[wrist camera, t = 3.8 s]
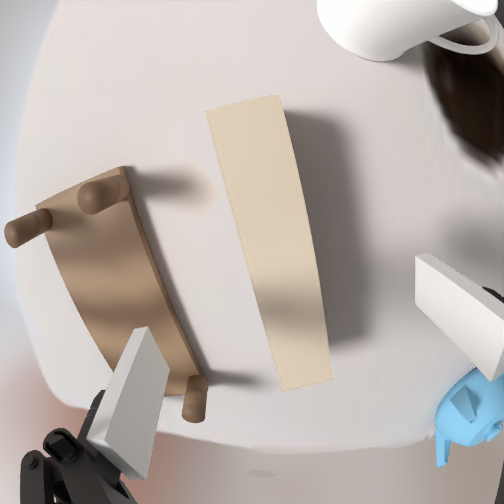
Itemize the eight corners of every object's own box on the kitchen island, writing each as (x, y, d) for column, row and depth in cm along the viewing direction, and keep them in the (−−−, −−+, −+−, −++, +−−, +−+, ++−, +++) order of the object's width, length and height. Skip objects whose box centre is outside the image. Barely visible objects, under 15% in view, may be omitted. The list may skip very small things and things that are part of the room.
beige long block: (213, 122, 19) (204, 111, 14) (267, 109, 19) (278, 94, 14) (274, 346, 26) (282, 392, 21) (315, 335, 26) (332, 379, 20)
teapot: (480, 403, 35) (505, 439, 25) (418, 435, 35) (441, 480, 25) (506, 343, 30) (543, 381, 20) (441, 378, 30) (478, 431, 20)
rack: (38, 204, 20) (-1, 220, 15) (128, 164, 20) (96, 169, 15) (130, 393, 28) (117, 429, 22) (213, 383, 27) (209, 424, 22)
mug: (443, 41, 17) (532, 14, 5) (419, 103, 19) (527, 93, 8) (337, -32, 14) (392, -107, 3) (299, 25, 17) (351, -64, 5)
